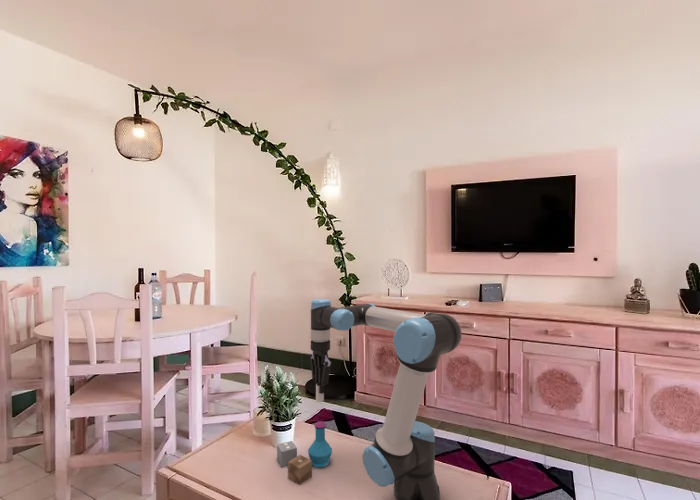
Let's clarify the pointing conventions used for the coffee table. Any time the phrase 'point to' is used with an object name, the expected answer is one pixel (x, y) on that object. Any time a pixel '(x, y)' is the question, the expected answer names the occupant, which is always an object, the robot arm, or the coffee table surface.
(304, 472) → the walnut block
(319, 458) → the perfume bottle
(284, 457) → the slate block
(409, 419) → the robot arm
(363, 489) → the coffee table surface
